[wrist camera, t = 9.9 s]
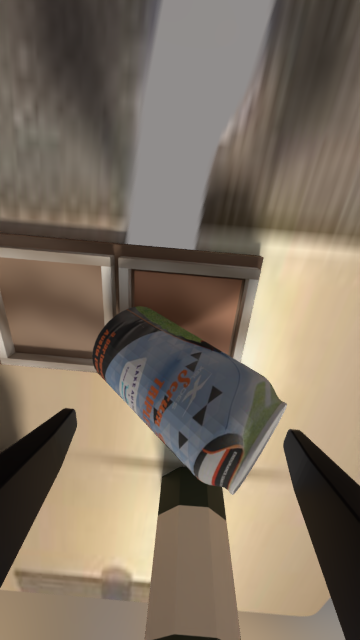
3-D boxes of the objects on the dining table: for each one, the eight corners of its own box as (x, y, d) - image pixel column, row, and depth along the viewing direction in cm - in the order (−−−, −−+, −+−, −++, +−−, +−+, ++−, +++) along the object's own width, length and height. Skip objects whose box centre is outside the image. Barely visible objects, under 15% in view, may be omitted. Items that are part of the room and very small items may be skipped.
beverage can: (84, 303, 14) (223, 457, 6) (174, 297, 19) (319, 381, 11) (84, 381, 17) (183, 562, 9) (163, 358, 22) (275, 464, 13)
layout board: (233, 378, 23) (237, 392, 21) (-93, 349, 23) (-118, 360, 21) (259, 255, 18) (267, 259, 16) (-153, 219, 18) (-192, 219, 16)
